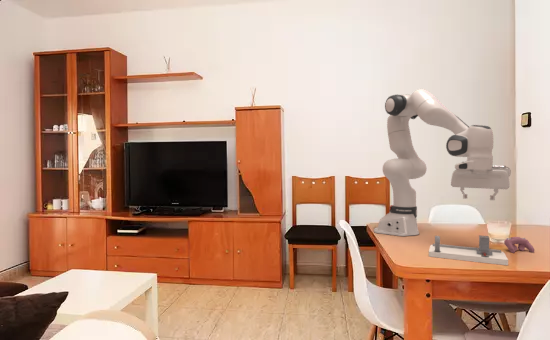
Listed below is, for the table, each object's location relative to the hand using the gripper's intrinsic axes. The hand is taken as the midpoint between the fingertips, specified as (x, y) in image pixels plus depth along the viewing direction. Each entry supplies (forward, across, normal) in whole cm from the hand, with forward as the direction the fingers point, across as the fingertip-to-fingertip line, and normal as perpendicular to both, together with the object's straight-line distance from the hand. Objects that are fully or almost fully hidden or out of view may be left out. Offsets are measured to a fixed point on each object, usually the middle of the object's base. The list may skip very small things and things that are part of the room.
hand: (478, 199), depth 137 cm
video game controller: (+22, -16, -11) cm, 29 cm away
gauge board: (+22, +4, +8) cm, 24 cm away
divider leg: (+20, -2, +9) cm, 22 cm away
